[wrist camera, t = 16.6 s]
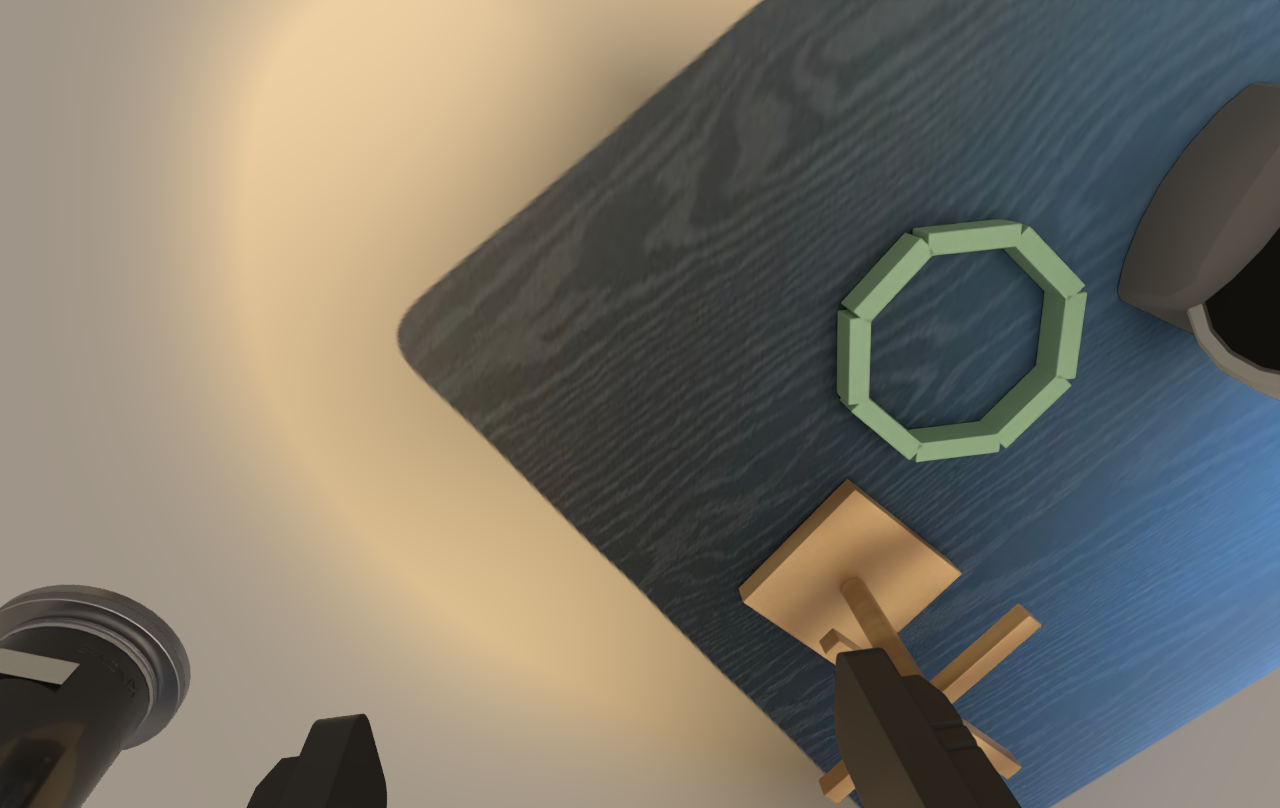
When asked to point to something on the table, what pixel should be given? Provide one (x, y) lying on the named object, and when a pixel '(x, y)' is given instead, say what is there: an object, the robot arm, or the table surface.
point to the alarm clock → (1219, 241)
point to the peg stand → (873, 602)
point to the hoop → (1021, 401)
